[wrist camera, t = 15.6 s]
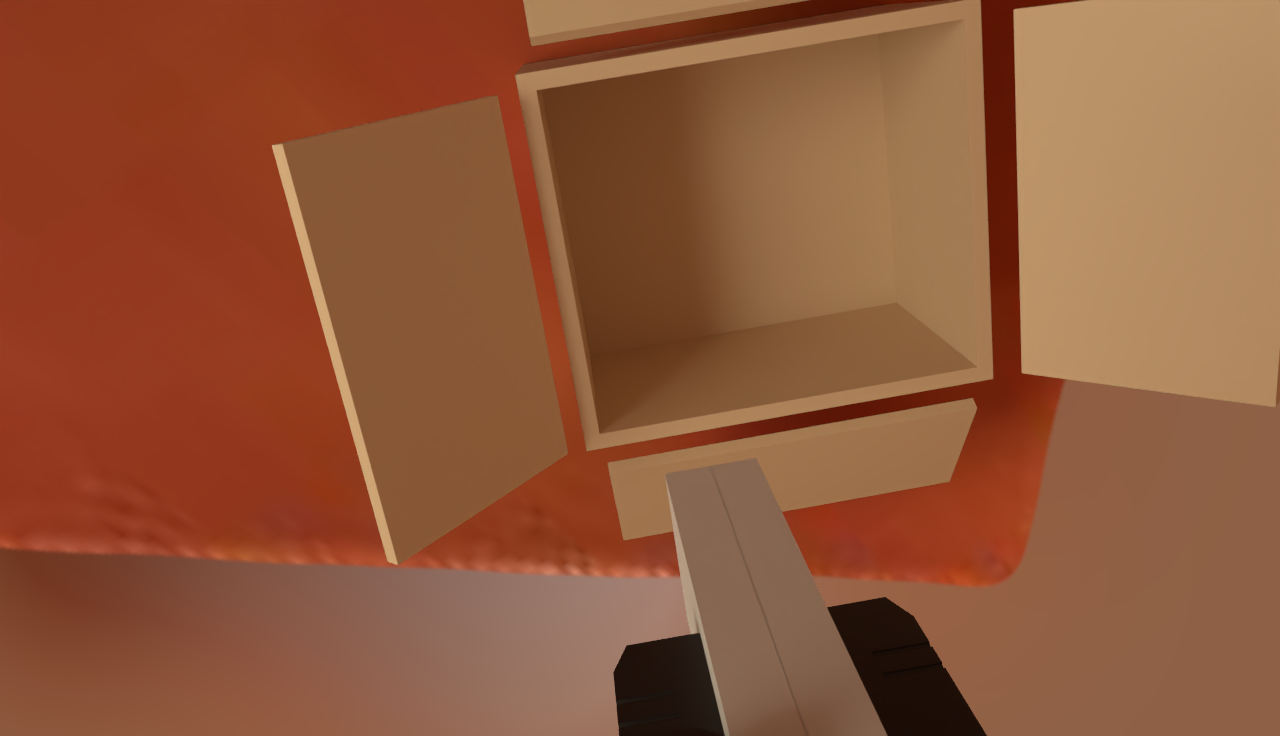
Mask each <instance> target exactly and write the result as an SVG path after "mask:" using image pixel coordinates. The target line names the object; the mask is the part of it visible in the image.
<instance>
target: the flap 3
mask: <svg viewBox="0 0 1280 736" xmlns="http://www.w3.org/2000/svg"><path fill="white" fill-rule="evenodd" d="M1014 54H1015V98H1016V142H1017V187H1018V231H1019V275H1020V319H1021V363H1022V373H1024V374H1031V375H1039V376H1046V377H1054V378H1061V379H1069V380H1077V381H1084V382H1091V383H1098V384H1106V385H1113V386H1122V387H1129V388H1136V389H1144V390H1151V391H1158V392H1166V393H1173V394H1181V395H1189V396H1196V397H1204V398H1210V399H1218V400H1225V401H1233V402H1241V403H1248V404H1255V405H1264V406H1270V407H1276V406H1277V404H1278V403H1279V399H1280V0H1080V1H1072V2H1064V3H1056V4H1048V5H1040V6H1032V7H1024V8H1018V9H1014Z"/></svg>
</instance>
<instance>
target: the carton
mask: <svg viewBox="0 0 1280 736" xmlns="http://www.w3.org/2000/svg"><path fill="white" fill-rule="evenodd" d="M515 76H516V82H517V87H518V92H519V97H520V103H521V108H522V113H523V118H524V124H525V129H526V134H527V139H528V145H529V150H530V155H531V160H532V166H533V171H534V176H535V181H536V187H537V192H538V197H539V202H540V208H541V213H542V218H543V223H544V229H545V234H546V239H547V244H548V250H549V255H550V260H551V265H552V271H553V276H554V281H555V286H556V292H557V297H558V302H559V307H560V313H561V318H562V323H563V328H564V334H565V339H566V344H567V349H568V355H569V360H570V365H571V370H572V376H573V381H574V386H575V392H576V397H577V402H578V407H579V413H580V418H581V423H582V428H583V434H584V439H585V444H586V449H587V451H589V450H595V449H601V448H606V447H612V446H618V445H623V444H629V443H635V442H640V441H646V440H652V439H657V438H663V437H668V436H674V435H680V434H685V433H691V432H697V431H702V430H708V429H714V428H719V427H725V426H731V425H736V424H742V423H748V422H753V421H759V420H764V419H770V418H776V417H781V416H787V415H793V414H798V413H804V412H810V411H815V410H821V409H827V408H832V407H838V406H843V405H849V404H855V403H860V402H866V401H872V400H877V399H883V398H889V397H894V396H900V395H906V394H911V393H917V392H922V391H928V390H934V389H939V388H945V387H951V386H956V385H962V384H968V383H973V382H979V381H985V380H990V379H993V354H992V324H991V294H990V264H989V234H988V204H987V174H986V144H985V114H984V84H983V54H982V24H981V0H941V1H927V2H913V3H899V4H885V5H879V6H873V7H867V8H861V9H855V10H849V11H843V12H837V13H831V14H825V15H819V16H813V17H807V18H801V19H795V20H789V21H783V22H777V23H771V24H765V25H759V26H753V27H747V28H741V29H735V30H729V31H722V32H716V33H710V34H704V35H698V36H692V37H686V38H680V39H674V40H668V41H662V42H656V43H650V44H644V45H638V46H632V47H626V48H620V49H614V50H608V51H602V52H596V53H590V54H584V55H578V56H572V57H566V58H559V59H553V60H547V61H541V62H535V63H529V64H524V65H523V66H522V67H521V68H520V70H519V71H518V72H517V73H516V75H515Z"/></svg>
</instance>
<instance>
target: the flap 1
mask: <svg viewBox="0 0 1280 736" xmlns="http://www.w3.org/2000/svg"><path fill="white" fill-rule="evenodd" d="M272 148H273V151H274V155H275V159H276V162H277V166H278V169H279V173H280V177H281V180H282V184H283V187H284V191H285V195H286V198H287V202H288V205H289V209H290V212H291V216H292V220H293V223H294V227H295V230H296V234H297V238H298V241H299V245H300V248H301V252H302V256H303V259H304V263H305V266H306V270H307V273H308V277H309V281H310V284H311V288H312V291H313V295H314V299H315V302H316V306H317V309H318V313H319V317H320V320H321V324H322V327H323V331H324V334H325V338H326V342H327V345H328V349H329V352H330V356H331V360H332V363H333V367H334V370H335V374H336V378H337V381H338V385H339V388H340V392H341V395H342V399H343V403H344V406H345V410H346V413H347V417H348V421H349V424H350V428H351V431H352V435H353V439H354V442H355V446H356V449H357V453H358V456H359V460H360V464H361V467H362V471H363V474H364V478H365V482H366V485H367V489H368V492H369V496H370V500H371V503H372V507H373V510H374V514H375V517H376V521H377V525H378V528H379V532H380V535H381V539H382V543H383V546H384V550H385V553H386V557H387V561H388V562H390V563H393V564H396V565H399V564H400V563H402V562H404V561H405V560H407V559H408V558H410V557H411V556H413V555H414V554H416V553H417V552H419V551H420V550H422V549H423V548H425V547H426V546H428V545H430V544H431V543H433V542H434V541H436V540H437V539H439V538H440V537H442V536H443V535H445V534H446V533H448V532H449V531H451V530H452V529H454V528H455V527H457V526H459V525H460V524H462V523H463V522H465V521H466V520H468V519H469V518H471V517H472V516H474V515H475V514H477V513H478V512H480V511H481V510H483V509H484V508H486V507H488V506H489V505H491V504H492V503H494V502H495V501H497V500H498V499H500V498H501V497H503V496H504V495H506V494H507V493H509V492H510V491H512V490H513V489H515V488H517V487H518V486H520V485H521V484H523V483H524V482H526V481H527V480H529V479H530V478H532V477H533V476H535V475H536V474H538V473H539V472H541V471H542V470H544V469H546V468H547V467H549V466H550V465H552V464H553V463H555V462H556V461H558V460H559V459H561V458H562V457H564V456H565V455H567V454H568V449H567V444H566V439H565V434H564V429H563V424H562V419H561V414H560V409H559V404H558V399H557V394H556V389H555V384H554V379H553V374H552V369H551V363H550V358H549V353H548V348H547V343H546V338H545V333H544V328H543V323H542V318H541V313H540V308H539V303H538V298H537V293H536V288H535V283H534V278H533V272H532V267H531V262H530V257H529V252H528V247H527V242H526V237H525V232H524V227H523V222H522V217H521V212H520V207H519V202H518V197H517V192H516V186H515V181H514V176H513V171H512V166H511V161H510V156H509V151H508V146H507V141H506V136H505V131H504V126H503V121H502V116H501V111H500V106H499V101H498V95H497V96H488V97H483V98H479V99H474V100H470V101H465V102H461V103H457V104H452V105H448V106H443V107H439V108H434V109H430V110H425V111H421V112H417V113H412V114H408V115H403V116H399V117H394V118H390V119H386V120H381V121H377V122H372V123H368V124H363V125H359V126H354V127H350V128H346V129H341V130H337V131H332V132H328V133H323V134H319V135H315V136H310V137H306V138H301V139H297V140H292V141H288V142H283V143H279V144H275V145H272Z"/></svg>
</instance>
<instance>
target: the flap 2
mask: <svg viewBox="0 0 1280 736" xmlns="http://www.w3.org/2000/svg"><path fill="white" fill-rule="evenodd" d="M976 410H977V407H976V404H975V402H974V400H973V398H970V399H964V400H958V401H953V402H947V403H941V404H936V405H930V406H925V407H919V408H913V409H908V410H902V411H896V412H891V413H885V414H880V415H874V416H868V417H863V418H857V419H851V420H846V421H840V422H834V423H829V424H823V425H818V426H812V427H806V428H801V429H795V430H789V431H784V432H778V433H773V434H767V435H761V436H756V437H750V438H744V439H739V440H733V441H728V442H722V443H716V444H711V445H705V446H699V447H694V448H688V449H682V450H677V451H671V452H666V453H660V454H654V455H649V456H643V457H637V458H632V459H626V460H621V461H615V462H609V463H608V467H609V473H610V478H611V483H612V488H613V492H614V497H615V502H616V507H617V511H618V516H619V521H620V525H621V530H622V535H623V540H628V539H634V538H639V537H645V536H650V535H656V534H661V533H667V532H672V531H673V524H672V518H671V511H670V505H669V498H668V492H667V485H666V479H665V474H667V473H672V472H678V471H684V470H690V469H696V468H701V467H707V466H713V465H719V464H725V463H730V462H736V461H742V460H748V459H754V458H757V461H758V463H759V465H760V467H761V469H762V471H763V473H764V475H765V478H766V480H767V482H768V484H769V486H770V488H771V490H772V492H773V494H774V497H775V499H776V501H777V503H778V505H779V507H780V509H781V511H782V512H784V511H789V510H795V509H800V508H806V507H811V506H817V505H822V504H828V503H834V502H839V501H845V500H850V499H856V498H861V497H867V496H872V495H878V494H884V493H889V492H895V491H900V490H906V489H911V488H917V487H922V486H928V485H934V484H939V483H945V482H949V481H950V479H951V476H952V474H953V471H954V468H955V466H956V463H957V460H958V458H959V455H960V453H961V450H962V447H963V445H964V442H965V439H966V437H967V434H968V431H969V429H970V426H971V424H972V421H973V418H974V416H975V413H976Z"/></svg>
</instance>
